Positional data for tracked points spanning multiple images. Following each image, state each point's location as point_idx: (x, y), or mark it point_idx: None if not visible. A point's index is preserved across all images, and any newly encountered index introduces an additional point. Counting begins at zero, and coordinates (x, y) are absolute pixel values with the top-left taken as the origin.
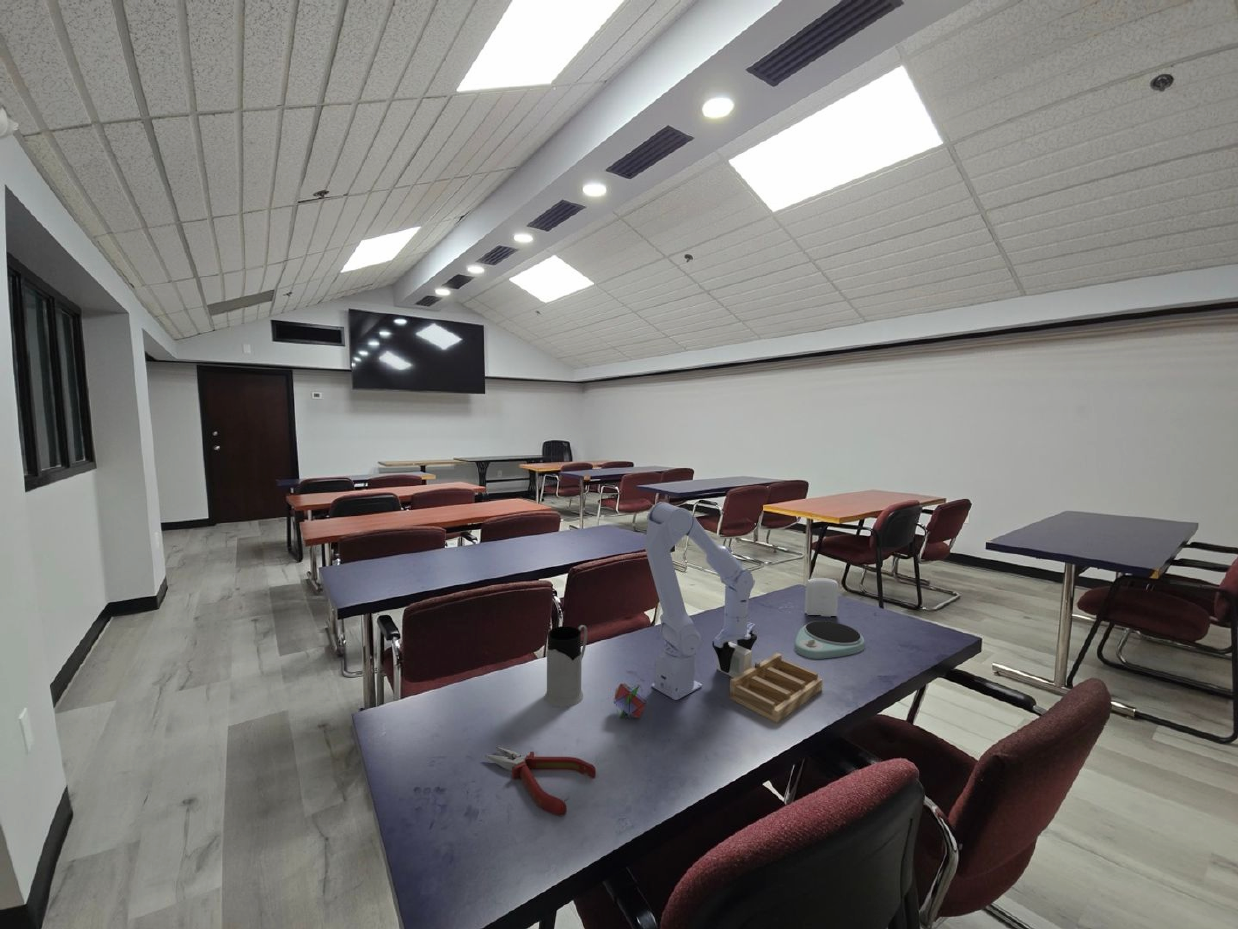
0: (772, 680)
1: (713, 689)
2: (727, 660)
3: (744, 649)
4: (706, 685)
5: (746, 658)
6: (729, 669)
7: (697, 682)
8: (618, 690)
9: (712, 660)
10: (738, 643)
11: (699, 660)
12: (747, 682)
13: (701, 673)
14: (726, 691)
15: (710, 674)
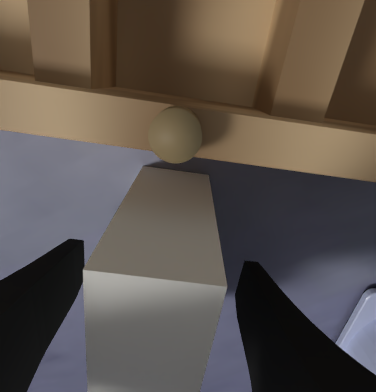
0: (114, 15)
1: (359, 247)
2: (317, 332)
3: (116, 330)
4: (340, 279)
5: (190, 249)
6: (253, 270)
7: (364, 312)
8: None
9: None
10: (26, 382)
11: None
12: (332, 122)
13: None
14: (346, 199)
15: None
